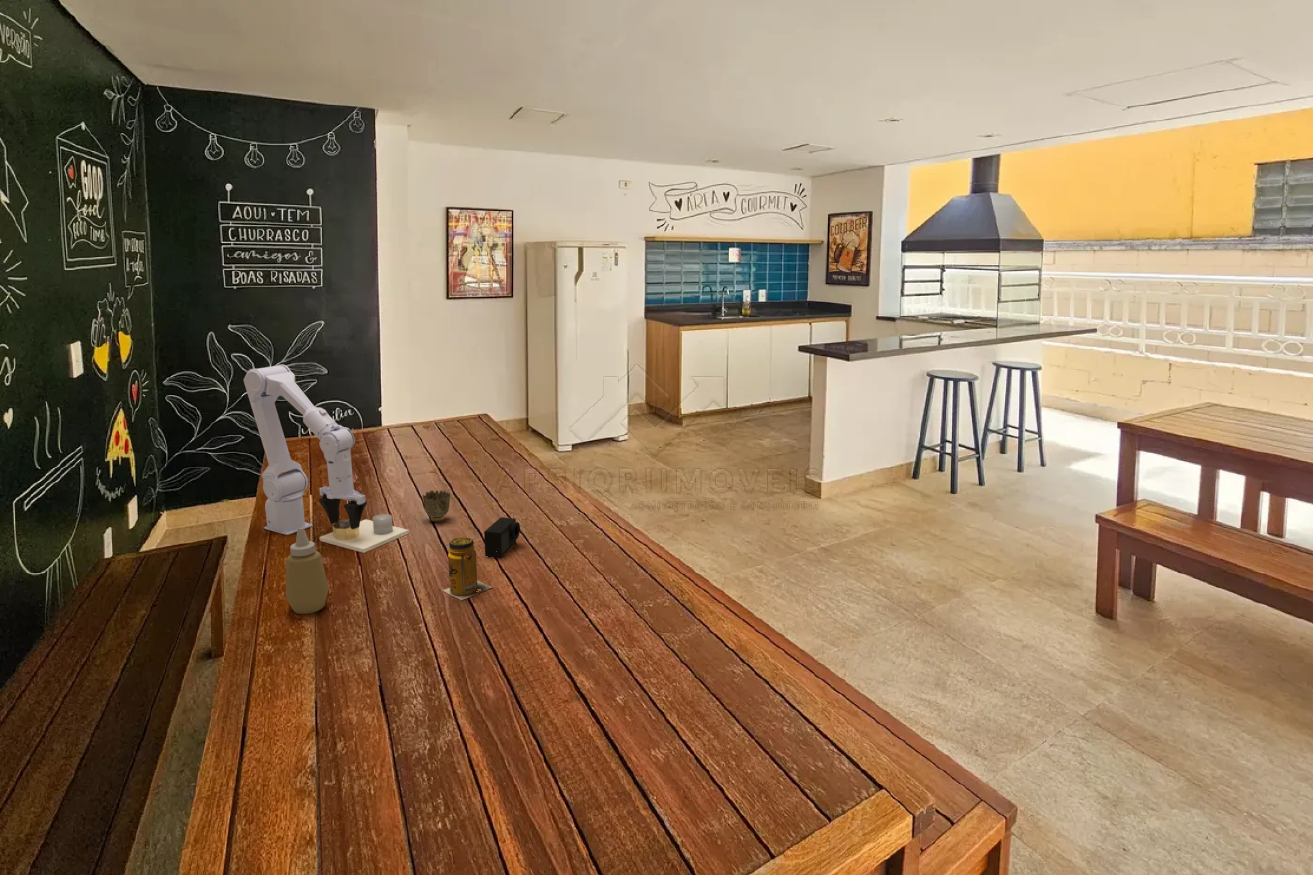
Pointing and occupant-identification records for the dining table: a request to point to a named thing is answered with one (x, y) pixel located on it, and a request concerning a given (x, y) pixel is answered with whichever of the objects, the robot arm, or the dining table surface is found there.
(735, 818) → the dining table surface
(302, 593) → the squeeze bottle
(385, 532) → the stub board
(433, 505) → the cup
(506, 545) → the digital camera
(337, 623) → the dining table surface
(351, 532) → the ring
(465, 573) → the condiment
